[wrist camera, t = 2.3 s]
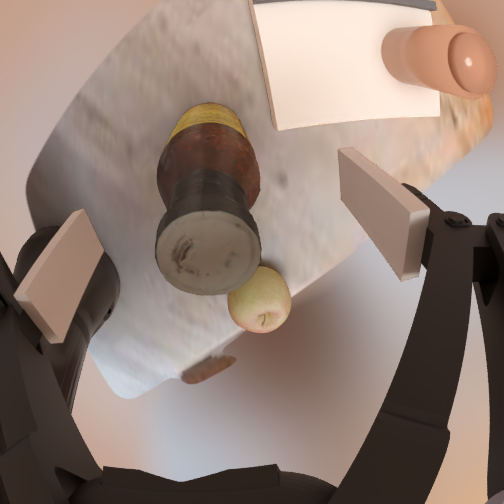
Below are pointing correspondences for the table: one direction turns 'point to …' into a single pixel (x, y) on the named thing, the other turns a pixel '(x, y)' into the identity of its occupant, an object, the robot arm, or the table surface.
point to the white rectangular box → (336, 60)
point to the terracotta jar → (441, 59)
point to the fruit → (260, 302)
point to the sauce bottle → (208, 203)
